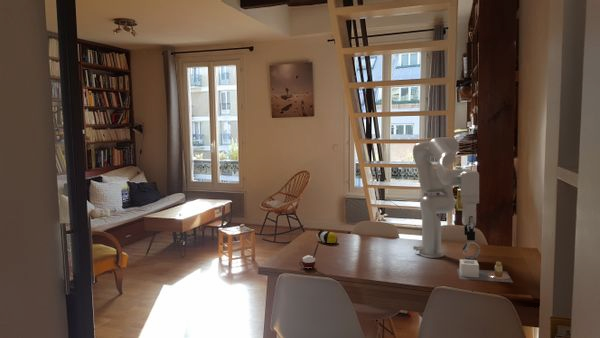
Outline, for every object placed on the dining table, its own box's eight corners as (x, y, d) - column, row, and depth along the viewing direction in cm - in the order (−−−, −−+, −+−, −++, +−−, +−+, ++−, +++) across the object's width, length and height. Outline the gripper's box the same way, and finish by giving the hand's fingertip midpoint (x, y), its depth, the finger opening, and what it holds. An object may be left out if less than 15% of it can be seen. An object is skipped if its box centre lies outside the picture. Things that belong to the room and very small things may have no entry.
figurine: (321, 239, 262) (321, 226, 261) (340, 243, 252) (340, 229, 251) (312, 241, 256) (312, 228, 256) (331, 246, 246) (331, 232, 245)
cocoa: (298, 270, 205) (296, 246, 204) (303, 265, 211) (301, 242, 210) (317, 270, 202) (315, 246, 201) (321, 266, 208) (319, 242, 206)
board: (459, 282, 182) (459, 269, 182) (456, 271, 195) (456, 260, 195) (513, 285, 176) (513, 272, 176) (506, 274, 190) (506, 262, 189)
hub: (488, 278, 181) (489, 264, 181) (485, 272, 190) (485, 258, 189) (511, 280, 179) (512, 265, 178) (507, 273, 187) (507, 259, 187)
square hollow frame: (461, 276, 185) (461, 264, 184) (459, 271, 192) (459, 259, 191) (478, 277, 183) (478, 265, 183) (476, 272, 190) (476, 260, 189)
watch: (461, 262, 209) (461, 240, 208) (478, 262, 208) (478, 240, 207) (463, 265, 204) (463, 243, 203) (480, 266, 202) (481, 243, 202)
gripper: (458, 196, 194) (458, 232, 195) (462, 202, 177) (462, 242, 179) (476, 196, 192) (476, 233, 193) (481, 202, 175) (481, 242, 177)
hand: (469, 237), depth 186 cm, fingers open, 9 cm apart
